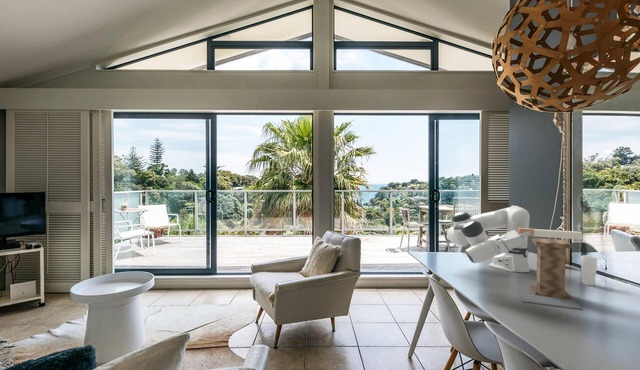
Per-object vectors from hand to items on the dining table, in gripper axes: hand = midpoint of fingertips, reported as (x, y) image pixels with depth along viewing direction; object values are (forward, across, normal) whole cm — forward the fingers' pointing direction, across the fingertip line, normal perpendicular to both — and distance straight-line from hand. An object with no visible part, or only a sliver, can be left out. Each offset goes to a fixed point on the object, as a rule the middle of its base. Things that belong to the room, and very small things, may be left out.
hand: (529, 231), depth 156 cm
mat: (-9, 0, -32) cm, 33 cm away
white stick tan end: (+5, 0, -5) cm, 7 cm away
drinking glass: (+13, -38, -44) cm, 60 cm away
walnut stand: (-6, -13, -33) cm, 36 cm away
